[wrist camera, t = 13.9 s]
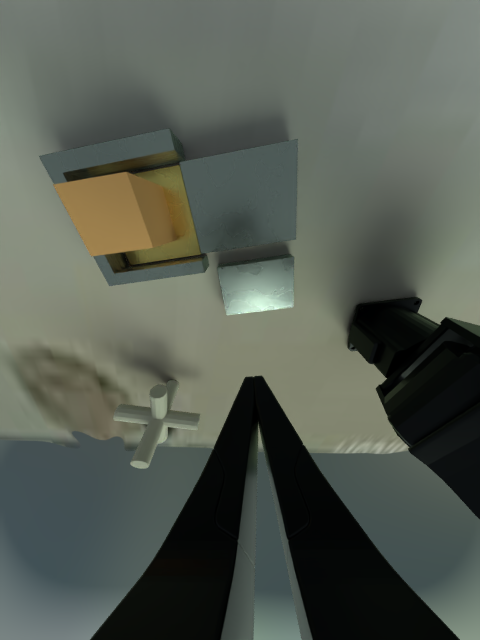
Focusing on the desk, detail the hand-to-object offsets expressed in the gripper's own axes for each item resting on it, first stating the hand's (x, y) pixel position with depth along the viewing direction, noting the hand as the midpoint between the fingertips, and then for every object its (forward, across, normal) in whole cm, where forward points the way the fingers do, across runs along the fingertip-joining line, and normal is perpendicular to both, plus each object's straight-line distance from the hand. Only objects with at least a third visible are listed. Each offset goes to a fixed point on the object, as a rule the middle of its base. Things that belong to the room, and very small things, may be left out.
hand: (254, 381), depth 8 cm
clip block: (+9, +6, -8) cm, 14 cm away
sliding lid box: (+12, +4, -8) cm, 15 cm away
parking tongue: (+12, -1, -1) cm, 12 cm away
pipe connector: (+12, +13, +13) cm, 22 cm away
